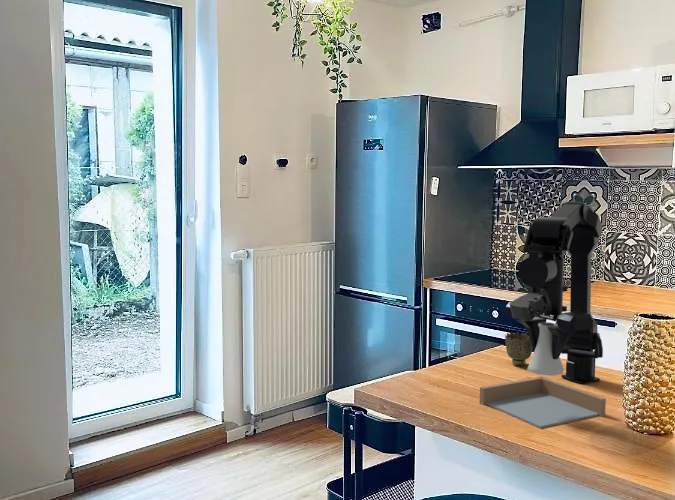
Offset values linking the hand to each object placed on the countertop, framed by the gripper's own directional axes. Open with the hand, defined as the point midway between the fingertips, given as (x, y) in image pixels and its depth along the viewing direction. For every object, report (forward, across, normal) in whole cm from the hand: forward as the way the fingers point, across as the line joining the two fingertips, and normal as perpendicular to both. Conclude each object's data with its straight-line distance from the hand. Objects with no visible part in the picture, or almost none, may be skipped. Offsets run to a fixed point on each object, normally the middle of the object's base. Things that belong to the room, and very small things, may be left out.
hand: (546, 356), depth 132 cm
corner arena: (+12, -2, +1) cm, 12 cm away
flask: (+3, 0, 0) cm, 3 cm away
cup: (+12, -31, +22) cm, 40 cm away
